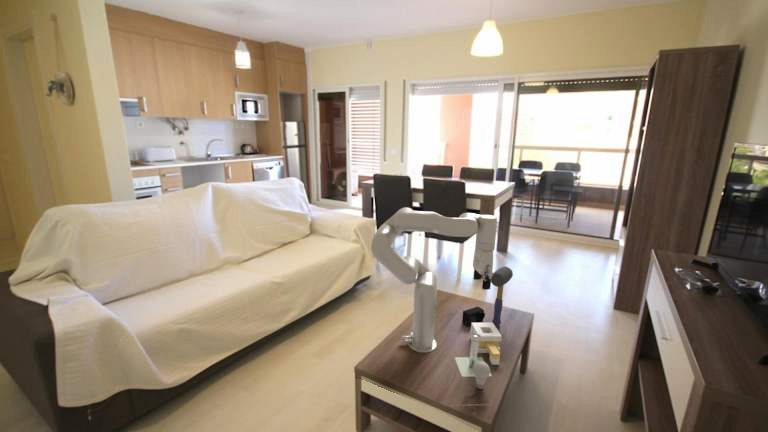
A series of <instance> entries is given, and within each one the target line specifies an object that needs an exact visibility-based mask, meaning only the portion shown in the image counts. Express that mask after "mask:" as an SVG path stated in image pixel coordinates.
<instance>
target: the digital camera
mask: <svg viewBox="0 0 768 432" xmlns="http://www.w3.org/2000/svg"><path fill="white" fill-rule="evenodd" d="M485 317H486V312H485V309H483V308H482V307H480V306H475V307H472V308H468V309H466V310H463V311H462V317H461V318H462V321H461V324H462V325H464V326H465V327H467V328H469V327H470V328H471V323H484V319H485Z"/></svg>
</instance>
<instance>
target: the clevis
mask: <svg viewBox="0 0 768 432" xmlns="http://www.w3.org/2000/svg"><path fill="white" fill-rule="evenodd" d="M471 333H477V334H479V335H481V341H479V346H478V354H489V361H490V364H491V365H493V366H495V365H500V359H501V347H500V343H501V342H502V341H503V340H502V339H503V336H502V334H501V333H500V331H499V330H498V328H497V326H495V325H494V324H493V322H492V321H491V322H481V323H471V326H470V334H471ZM470 334H469V335H470Z"/></svg>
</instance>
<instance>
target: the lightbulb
mask: <svg viewBox="0 0 768 432" xmlns="http://www.w3.org/2000/svg"><path fill="white" fill-rule="evenodd" d="M489 366H490V365H488V363H486V362H485V361H484V362H483V361H478V362H476V363H475V364H474V366H473V372H474V375H475V384H476V385H475V387H476V388H477V389H478V390H482V389H484V384H485V382H486V379H487V378H488V377H490V376H489V374H490V373H491V369H490V367H489Z"/></svg>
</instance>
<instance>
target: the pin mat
mask: <svg viewBox="0 0 768 432" xmlns="http://www.w3.org/2000/svg"><path fill="white" fill-rule="evenodd" d="M469 358H470V356H467V357H465V356H464V357H457V356H456V357H454V360H455V363H456V365H457V367H458V370H459V373H460V375H461V377H462V378H466V377H469V378H470V377H471V378H472V377H475V375H474V372H473V369H472V368H470V367H469ZM478 361H483V362H485V360H484V358H483V356H477V362H478ZM488 377H492V373H491V372H490V374H489V376H488ZM475 378H476V377H475Z"/></svg>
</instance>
